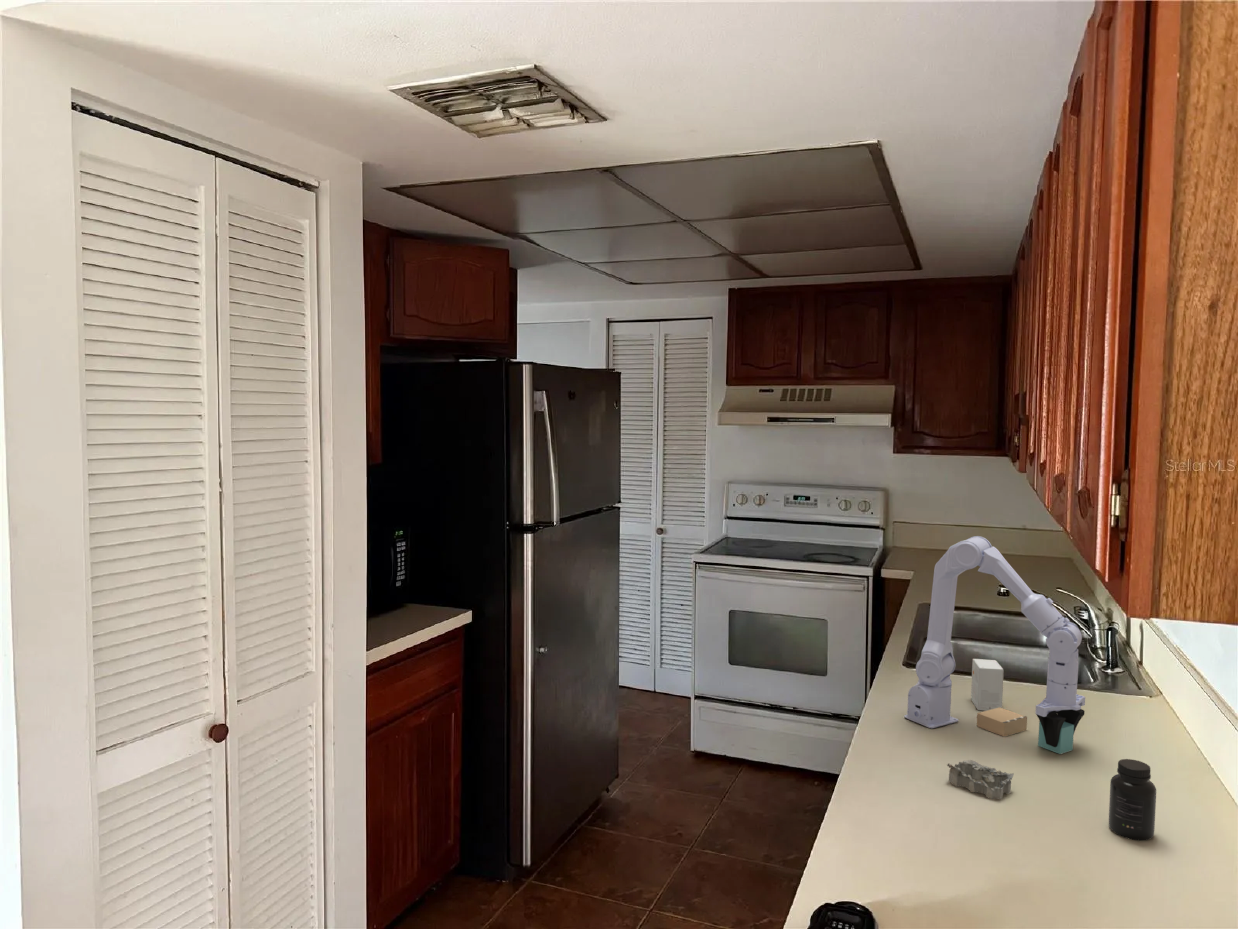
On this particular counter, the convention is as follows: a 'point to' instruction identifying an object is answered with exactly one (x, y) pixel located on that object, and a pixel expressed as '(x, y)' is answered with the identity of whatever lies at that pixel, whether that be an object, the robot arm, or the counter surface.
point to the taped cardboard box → (1002, 721)
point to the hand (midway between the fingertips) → (1058, 743)
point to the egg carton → (980, 779)
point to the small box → (987, 684)
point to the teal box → (1064, 739)
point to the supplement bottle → (1132, 801)
